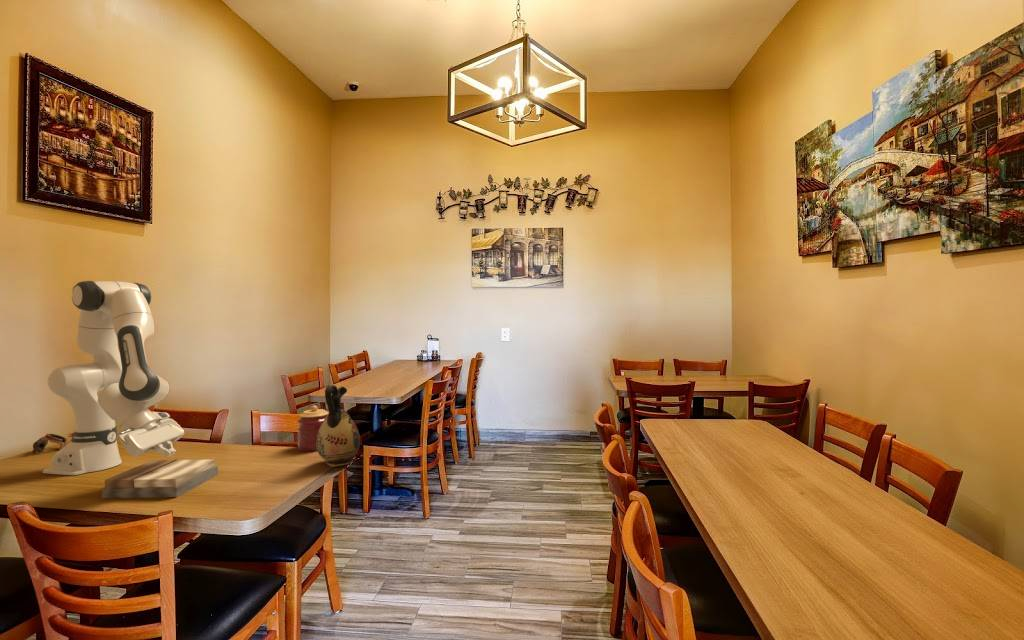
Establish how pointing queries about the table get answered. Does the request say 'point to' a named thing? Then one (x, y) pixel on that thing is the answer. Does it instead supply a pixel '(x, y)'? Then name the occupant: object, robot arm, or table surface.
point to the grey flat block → (125, 487)
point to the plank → (174, 473)
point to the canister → (310, 428)
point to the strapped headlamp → (42, 442)
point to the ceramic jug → (337, 431)
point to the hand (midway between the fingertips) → (171, 454)
